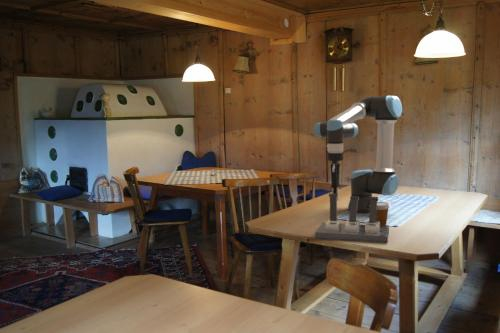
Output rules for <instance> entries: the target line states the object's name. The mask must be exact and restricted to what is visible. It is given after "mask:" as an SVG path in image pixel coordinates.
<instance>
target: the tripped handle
mask: <svg viewBox="0 0 500 333" xmlns="http://www.w3.org/2000/svg"><path fill="white" fill-rule="evenodd" d="M337 196H338V197H339V193H338V194H335V193H331V192H330V193H329V194H328V198H329V219H330V221H337V219H338V201H337Z"/></svg>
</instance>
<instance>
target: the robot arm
mask: <svg viewBox="0 0 500 333" xmlns="http://www.w3.org/2000/svg"><path fill="white" fill-rule="evenodd" d="M402 113H403V105H402V102H401V99H400V98H399V97H398V96H396V95H375V96H373V95H372V96H368V97H364V98H362V99H359V100H357V101H355V102H354V103H352V104H351V106H350V107H349V108H347V109H346V110H344V111H342V112H340V113H339V114H337V115H335V116H333V117H331V118H329V119H328V120H326V121H324V122H323V121H322V122H316V123H315V124H314V127H313V133H314V135H315V137H317V138H322V139H323V138H326V139H327V140H326V142H327V145H325V146H326V148H327V153H326V154H327V155H326V156H327V157H326V158H327V161H329V162H331V164H330V180H331V186H330V189H331V191H332V193H335V194H338V196H337V202H338V201H339V188H340V187H341V185H340V169H341V168H340V166H341V163H340V162H342V161H343V160H344V139H352V138H356V136H357V135H358V133H359V126H358V125H357V124H356V123H354V122H356V121H357V120H362V119H364V118H374V121H375V123H377V131H376V132H377V134H376V135H377V136H376V137H377V138H376V156H375V160H376V161H375V168H374V169H359V170H355V171H354V170H353V171H352V172H351V176H350V196H359V201H358V204H357V214H358V213H361V214H362V213H363V214H364V213H367V214H368V213H370V197H373V195H381V196H382V195H383V196H393V195H394V194H396V192H397V190H398V189H399V188H398V187H399V185H400V184H399V183H400V179H399V176H398V175H396V170H395V169H394V168H393V158H394V136H395V123H396V122H397V121H398V118H400V117H401V116H402ZM397 123H398V122H397ZM348 202H349V203H348V204H347V211H349V212H350V206H351V200H350V199H349V201H348Z"/></svg>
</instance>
